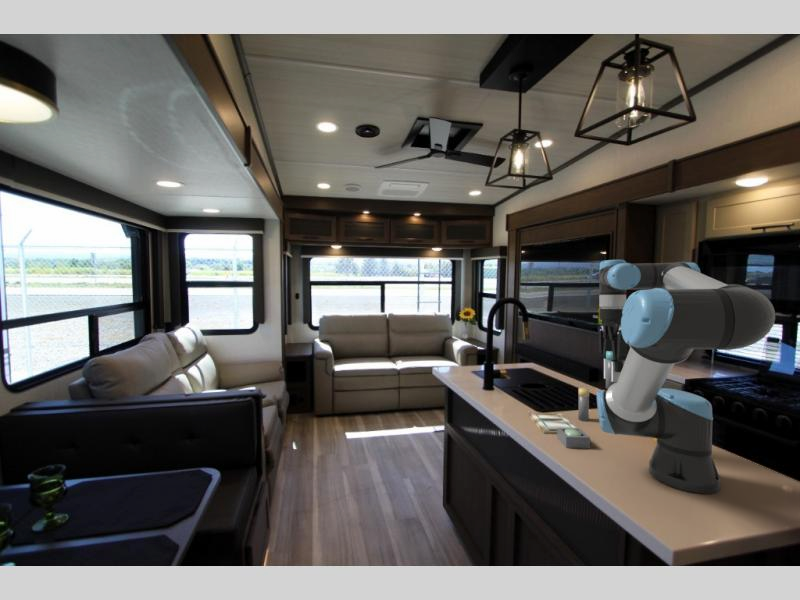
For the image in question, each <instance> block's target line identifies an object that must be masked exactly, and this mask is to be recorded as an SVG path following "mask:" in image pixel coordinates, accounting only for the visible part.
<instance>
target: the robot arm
mask: <svg viewBox="0 0 800 600" xmlns="http://www.w3.org/2000/svg"><path fill="white" fill-rule="evenodd" d="M598 273H599V275H598V276H599V299H598V300H599V303H598V305H599V307H600V309H599V310H598V311H599V316H598V317H599V320H601V321H603V322H602V325H600V326H599V325H598V326H597V331H598V349H599V350H598V351H599V353H598V354H599V356H602V359H603V379H604V380H606V351H612V352H613V360H611V361H612V368H611V381H612V382H617V383H614V384H613V385H611V386H610V387H609V388H608V389H607V390H606V389H602V390H598V391H597V392H596V405H597V406H596V407H597V413H598V421H599V425H600V429H601V430H602V431H603V432H604V433H607V434H612V435H615V436H616V435H621V436H631V437H641V438H650V439H652V438H657V445H655V447H654V450H653V451H652V452H653V453H652V454H651V458H650V459H649V461H648V471H649V473H650V475H651V476H652V477H653V478H654V479H655V480H657V481H659V482H660V483H662V484H665V485H667V486H669V487H672V488H674V489H677V490H679V491H685V492H688V493H689V492H690V493H693V494H694V493H695V494H703V495H704V494H715V493H717V492H719V491H720V490H721V478H720V475H719V472H718V470H717V467H716V464H715V461H714V459H713V455H712V453H713V420H714V417H713V406H712V403H711V402H710V401H709V400H707V399H706V398H705V397H702V396H700V395H697V394H696V393H695V394H694V393H692V392H688V391H685V390H680V389H676V388H667V387H662V386H663V385H664V383H665V381H667V378H668V376H669V375H670V372H671V371H672V370H673V367H674V366H675V364H679V363H682V362H683V361H686V360H687V359H688V358H689V357H690V356H691V354H692V353H693V351H694V350H717V351H718V350H719V351H720V350H723V351H725V350H726V351H731V350H737V349H743V348H746V347H749V346H752V345H754V344H757V343H758V342H759V341H761V340H763V339H764V338H765V337H766V336H767V335H768V334H769V333H770V332H771V330H772V328H773V326H775V325H774V324H775V321H776V311H775V308H774V306H773V303H772V302H771V301H770V300H769V299H768V297H766V296H765V295H764V294H763V293H761V292H759V291H757V290H755V289H753V288H750V287H749V286H745V285H741V284H727V283H724V282H723V281H721V280H717V279H715V278H713V277H710V276H708V275H706V274H704V273H702V272H701V269H700V267H699V264H697V263H696V262H685V261H677V262H659V263H658V262H656V263H655V262H653V263H652V262H651V263H650V262H649V263H647V262H646V263H630V262H627V261H626V260H624V259H608V260H607V259H606V260H602V261H601V262H600V263H599V270H598ZM627 290H636V291H635V292H632V293H631V294H630V295H629V296H628V298H627ZM628 346H629V350H628ZM623 362H624V364H623ZM622 365H623V366H622Z"/></svg>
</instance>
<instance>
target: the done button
mask: <svg viewBox="0 0 800 600" xmlns="http://www.w3.org/2000/svg"><path fill="white" fill-rule="evenodd" d="M565 434H566V435H567V436H582V433H581V432H580V431H578V430H575V429H566V430H565Z"/></svg>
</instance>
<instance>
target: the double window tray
mask: <svg viewBox="0 0 800 600" xmlns="http://www.w3.org/2000/svg"><path fill="white" fill-rule="evenodd" d="M528 417H529V418H530V419H531V420H532V422H533V423H534V424H535V425H536V426H537V427H538V428H539V430H540V431H541V432H542V433H543V434H550V435H551V434H552V435H553V434H554V435H555V434H556V435H557V428H578V427H576V425H575V424H573V423H572V422H571V421H570V420H569V419H568V418H567V417H566V416H564V414H562V413H553V412H552V413H544V412H543V413H542V412H541V413H540V412H538V413H536V412H535V413H528Z"/></svg>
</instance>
